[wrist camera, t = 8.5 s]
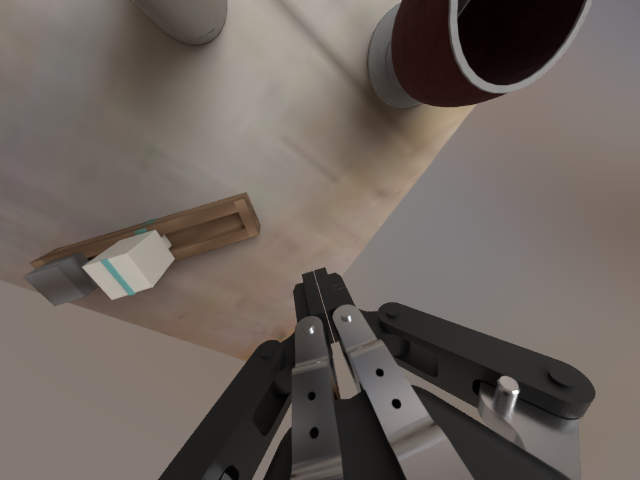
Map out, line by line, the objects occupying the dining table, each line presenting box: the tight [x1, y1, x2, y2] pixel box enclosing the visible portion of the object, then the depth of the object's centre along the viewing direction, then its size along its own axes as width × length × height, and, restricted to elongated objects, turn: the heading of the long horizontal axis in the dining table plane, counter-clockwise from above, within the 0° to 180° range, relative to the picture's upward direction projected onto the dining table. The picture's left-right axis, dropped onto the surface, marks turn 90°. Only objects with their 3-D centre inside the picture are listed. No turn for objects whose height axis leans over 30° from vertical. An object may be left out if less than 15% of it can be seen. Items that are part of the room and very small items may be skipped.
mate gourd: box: [367, 0, 593, 108], centre depth 23 cm, size 16×14×20 cm
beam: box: [23, 192, 260, 306], centre depth 33 cm, size 6×30×8 cm, turn 104°
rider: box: [82, 230, 175, 300], centre depth 30 cm, size 5×5×9 cm
